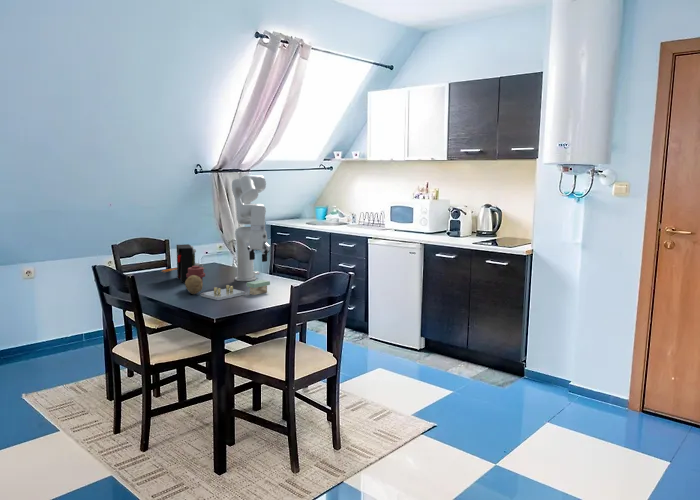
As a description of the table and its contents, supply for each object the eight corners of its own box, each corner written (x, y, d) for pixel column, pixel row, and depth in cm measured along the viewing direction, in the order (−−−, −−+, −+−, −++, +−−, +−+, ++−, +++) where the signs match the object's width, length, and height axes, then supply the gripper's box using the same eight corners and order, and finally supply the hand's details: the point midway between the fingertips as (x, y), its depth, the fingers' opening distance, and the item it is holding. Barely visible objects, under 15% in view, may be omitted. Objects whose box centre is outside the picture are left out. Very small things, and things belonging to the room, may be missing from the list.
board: (262, 283, 296) (262, 279, 296) (270, 284, 292) (270, 281, 292) (246, 286, 287) (246, 282, 287) (254, 287, 284) (254, 284, 283)
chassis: (228, 290, 295) (228, 282, 294) (245, 294, 286) (245, 286, 285) (200, 296, 281) (200, 287, 280) (217, 300, 272) (217, 291, 272)
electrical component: (196, 282, 318) (196, 247, 315) (178, 283, 314) (177, 248, 311) (193, 276, 334) (192, 244, 331) (176, 277, 330) (175, 244, 327)
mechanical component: (193, 286, 306) (208, 287, 303) (183, 289, 296) (199, 290, 294) (192, 264, 304) (208, 265, 302) (182, 267, 295) (198, 268, 292)
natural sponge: (187, 292, 290) (186, 273, 289) (204, 292, 291) (204, 273, 290) (183, 295, 281) (183, 276, 280) (201, 295, 282) (201, 276, 281)
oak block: (262, 291, 295) (262, 283, 294) (267, 292, 293) (267, 284, 292) (249, 293, 288) (249, 286, 287) (254, 294, 286) (254, 287, 285)
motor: (188, 267, 366) (187, 260, 365) (209, 271, 353) (208, 263, 352) (158, 277, 349) (156, 270, 347) (179, 282, 335) (177, 274, 334)
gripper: (274, 228, 283) (274, 261, 285) (252, 226, 294) (252, 258, 296) (263, 229, 277) (264, 263, 279) (241, 227, 288) (242, 259, 290)
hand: (258, 260), depth 288 cm, fingers open, 9 cm apart
